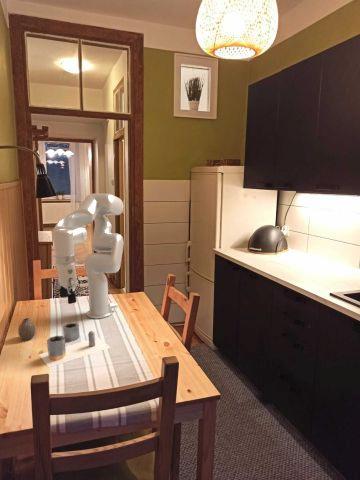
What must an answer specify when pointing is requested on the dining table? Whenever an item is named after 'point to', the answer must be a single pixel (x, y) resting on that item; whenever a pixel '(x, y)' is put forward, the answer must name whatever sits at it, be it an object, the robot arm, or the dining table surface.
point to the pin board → (78, 350)
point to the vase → (26, 329)
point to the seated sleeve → (56, 348)
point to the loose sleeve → (71, 331)
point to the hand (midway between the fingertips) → (68, 299)
